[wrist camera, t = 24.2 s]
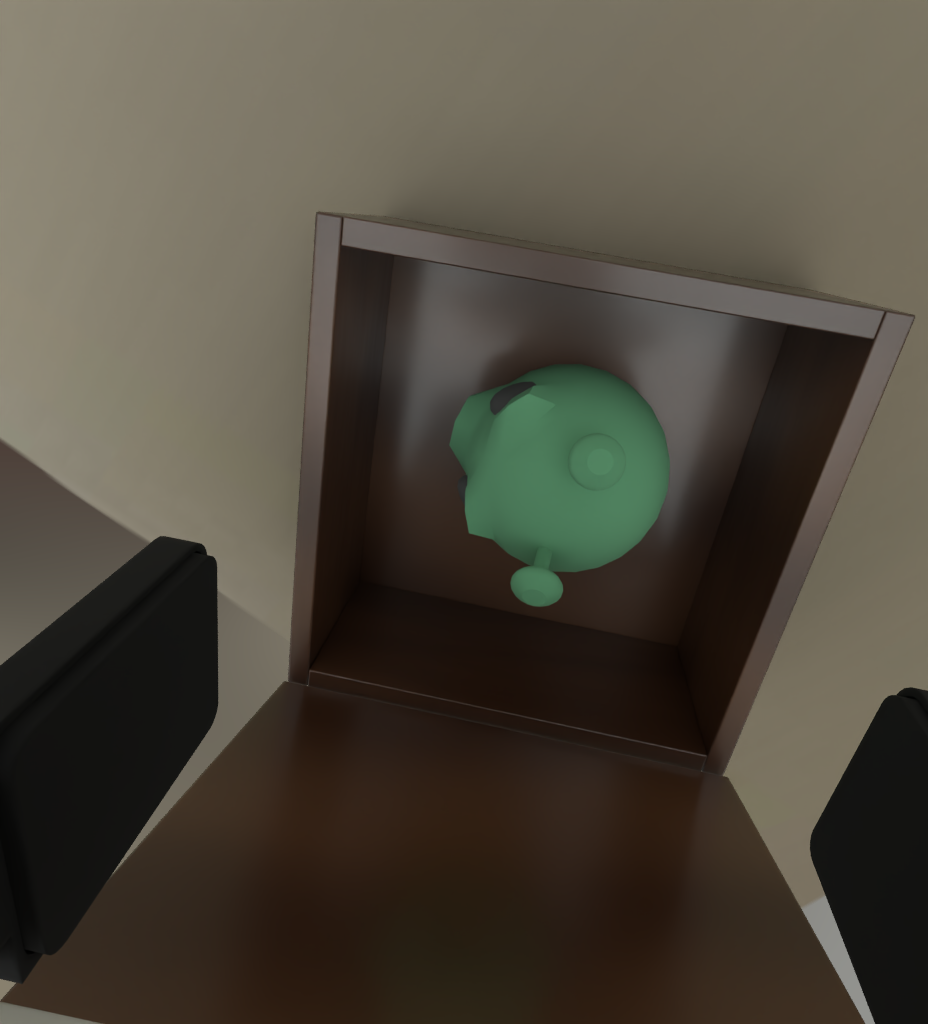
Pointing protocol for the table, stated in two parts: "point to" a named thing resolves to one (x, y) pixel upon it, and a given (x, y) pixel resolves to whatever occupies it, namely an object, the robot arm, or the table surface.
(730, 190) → the table surface
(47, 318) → the table surface
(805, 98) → the table surface
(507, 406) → the alien toy
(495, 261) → the chest
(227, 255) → the table surface
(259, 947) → the lid
